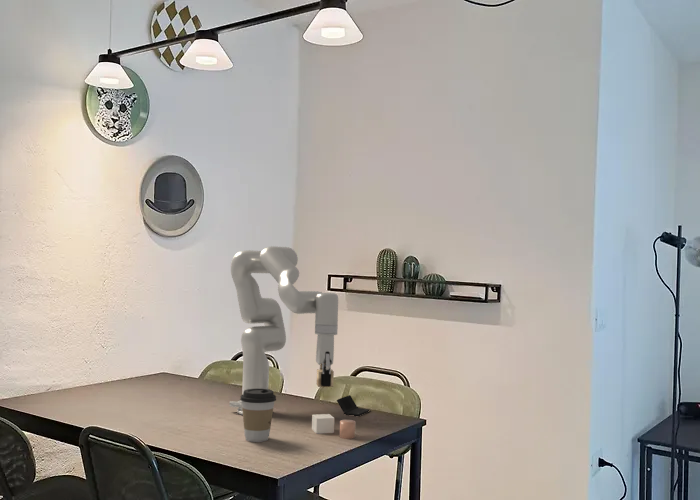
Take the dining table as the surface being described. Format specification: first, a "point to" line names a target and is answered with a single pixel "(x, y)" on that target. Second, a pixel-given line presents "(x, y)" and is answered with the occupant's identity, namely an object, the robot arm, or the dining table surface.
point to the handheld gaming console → (350, 406)
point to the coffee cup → (257, 413)
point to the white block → (323, 423)
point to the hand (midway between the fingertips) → (324, 384)
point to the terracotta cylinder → (347, 429)
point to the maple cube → (319, 372)
